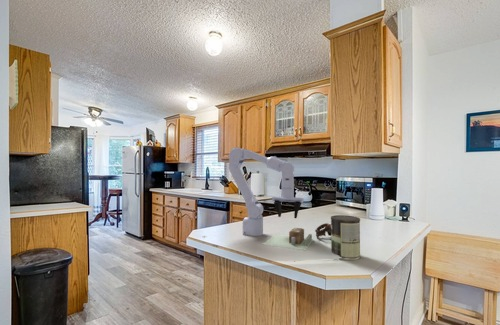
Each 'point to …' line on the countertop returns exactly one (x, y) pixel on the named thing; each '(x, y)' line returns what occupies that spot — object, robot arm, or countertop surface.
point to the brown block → (296, 235)
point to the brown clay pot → (323, 230)
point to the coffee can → (345, 237)
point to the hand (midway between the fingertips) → (287, 217)
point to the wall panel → (284, 242)
